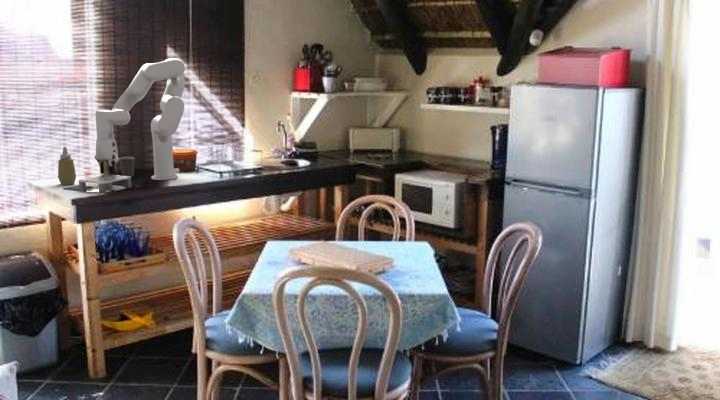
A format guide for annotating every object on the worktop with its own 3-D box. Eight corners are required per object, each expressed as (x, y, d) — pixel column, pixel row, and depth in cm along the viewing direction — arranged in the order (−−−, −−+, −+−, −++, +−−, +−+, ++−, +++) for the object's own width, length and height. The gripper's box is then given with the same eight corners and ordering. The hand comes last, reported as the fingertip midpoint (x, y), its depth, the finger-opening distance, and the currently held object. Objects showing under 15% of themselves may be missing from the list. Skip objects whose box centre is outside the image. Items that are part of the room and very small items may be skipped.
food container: (183, 173, 370) (182, 153, 367) (161, 171, 377) (160, 151, 375) (204, 169, 383) (203, 150, 381) (182, 167, 391) (182, 148, 389)
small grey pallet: (108, 185, 335) (107, 174, 334) (131, 187, 329) (130, 176, 328) (79, 191, 319) (78, 179, 318) (102, 193, 313) (102, 182, 312)
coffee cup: (126, 178, 355) (124, 158, 353) (116, 176, 360) (115, 157, 358) (139, 176, 361) (138, 156, 359) (130, 174, 366) (129, 155, 364)
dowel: (108, 182, 342) (106, 155, 340) (113, 182, 341) (111, 156, 339) (103, 183, 339) (101, 156, 337) (108, 183, 338) (106, 157, 336)
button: (105, 184, 326) (105, 180, 326) (112, 185, 325) (111, 181, 324) (99, 186, 323) (98, 181, 323) (105, 186, 321) (105, 182, 321)
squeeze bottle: (79, 184, 336) (76, 147, 333) (62, 186, 331) (59, 148, 327) (72, 182, 342) (69, 145, 339) (55, 184, 337) (52, 146, 333)
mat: (78, 186, 332) (78, 184, 332) (92, 187, 328) (92, 186, 328) (63, 189, 324) (63, 187, 324) (77, 190, 320) (77, 189, 320)
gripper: (124, 136, 336) (126, 173, 339) (97, 134, 343) (100, 171, 346) (113, 137, 329) (115, 175, 333) (85, 135, 336) (88, 173, 339)
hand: (107, 173), depth 339 cm, fingers open, 4 cm apart
